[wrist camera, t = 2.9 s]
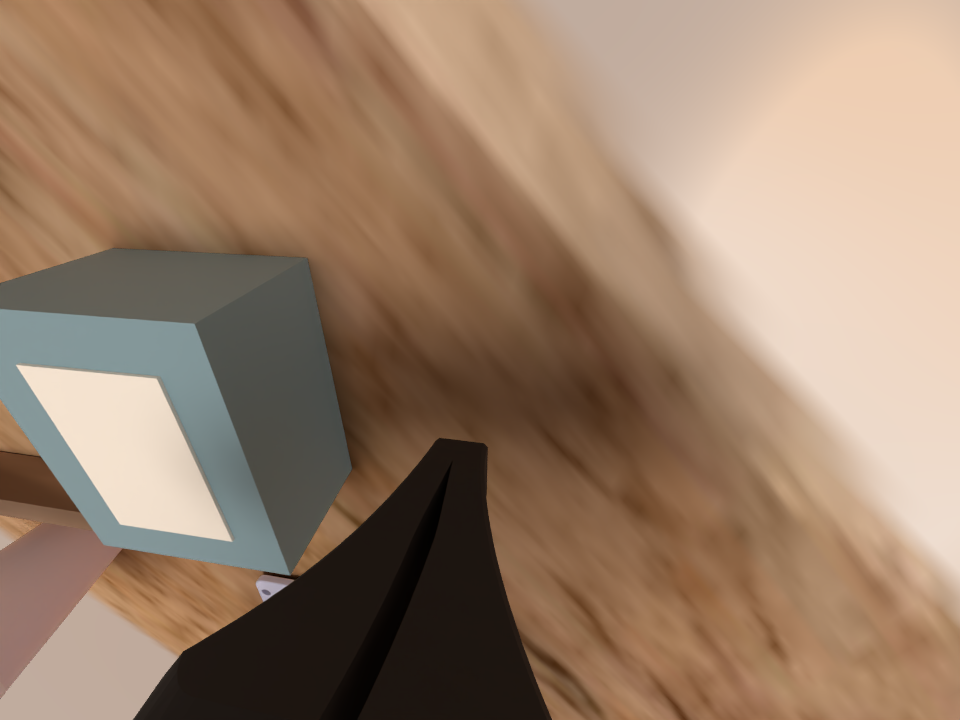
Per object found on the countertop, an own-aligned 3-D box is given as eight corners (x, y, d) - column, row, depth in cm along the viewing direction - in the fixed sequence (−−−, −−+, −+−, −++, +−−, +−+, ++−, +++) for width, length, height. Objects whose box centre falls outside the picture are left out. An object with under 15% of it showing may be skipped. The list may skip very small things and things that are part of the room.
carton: (354, 465, 18) (288, 578, 14) (206, 447, 19) (100, 547, 15) (310, 255, 13) (191, 325, 9) (118, 246, 14) (-73, 305, 10)
